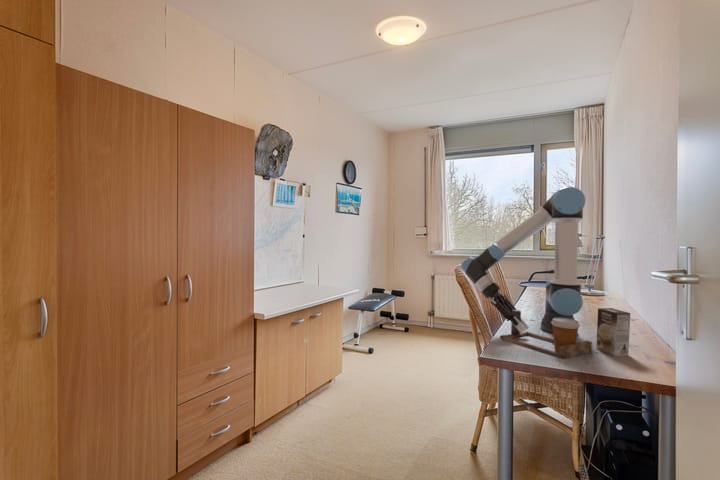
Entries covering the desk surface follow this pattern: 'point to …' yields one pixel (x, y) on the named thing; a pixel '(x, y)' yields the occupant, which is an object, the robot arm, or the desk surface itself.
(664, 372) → the desk surface
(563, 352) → the frame
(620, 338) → the coffee box
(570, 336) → the disposable coffee cup
